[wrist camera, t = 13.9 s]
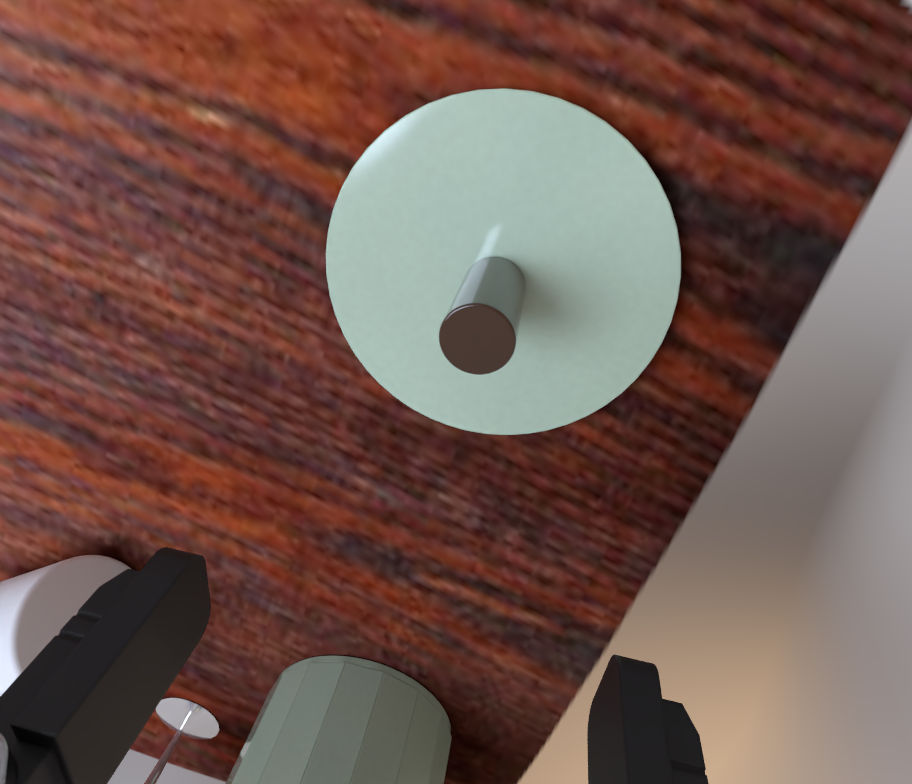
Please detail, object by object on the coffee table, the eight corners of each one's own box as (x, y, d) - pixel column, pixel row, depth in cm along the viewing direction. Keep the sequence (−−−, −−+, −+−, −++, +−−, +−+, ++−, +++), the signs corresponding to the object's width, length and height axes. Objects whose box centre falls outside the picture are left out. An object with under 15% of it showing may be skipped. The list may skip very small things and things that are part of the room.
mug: (180, 618, 38) (34, 827, 27) (75, 645, 41) (-89, 839, 31) (94, 524, 35) (-107, 719, 24) (-11, 562, 38) (-226, 746, 28)
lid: (733, 124, 19) (795, 147, 14) (617, 449, 26) (630, 547, 21) (343, 56, 20) (264, 54, 15) (329, 386, 27) (270, 465, 22)
